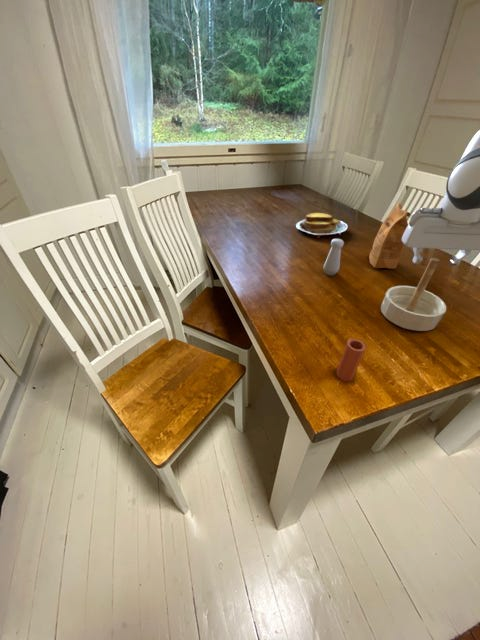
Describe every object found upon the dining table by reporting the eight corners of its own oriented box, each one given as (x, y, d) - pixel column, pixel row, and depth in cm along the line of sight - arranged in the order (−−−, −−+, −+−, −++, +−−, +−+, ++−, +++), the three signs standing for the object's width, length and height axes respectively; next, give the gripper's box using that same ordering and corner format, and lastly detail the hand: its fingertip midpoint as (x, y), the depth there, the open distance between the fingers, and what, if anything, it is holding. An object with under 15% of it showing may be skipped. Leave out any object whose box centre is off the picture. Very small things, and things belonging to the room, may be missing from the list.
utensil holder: (355, 373, 65) (367, 343, 59) (350, 384, 63) (362, 353, 56) (339, 366, 67) (350, 336, 61) (334, 376, 64) (344, 346, 58)
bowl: (439, 312, 85) (448, 296, 81) (433, 340, 75) (443, 323, 71) (386, 296, 91) (392, 280, 88) (374, 319, 81) (380, 303, 78)
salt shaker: (339, 276, 101) (348, 243, 93) (324, 276, 101) (331, 243, 93) (335, 269, 106) (344, 236, 98) (320, 268, 106) (328, 236, 98)
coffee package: (391, 257, 114) (412, 202, 100) (397, 272, 105) (422, 213, 91) (366, 255, 116) (383, 201, 102) (370, 269, 106) (390, 211, 92)
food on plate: (325, 244, 124) (328, 230, 120) (285, 228, 139) (286, 215, 135) (356, 231, 137) (359, 217, 133) (316, 218, 152) (318, 206, 148)
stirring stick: (412, 313, 83) (440, 259, 71) (411, 316, 81) (439, 261, 70) (404, 311, 84) (431, 257, 72) (403, 314, 82) (430, 259, 71)
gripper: (420, 211, 61) (398, 267, 70) (517, 214, 60) (482, 270, 69) (409, 203, 66) (389, 256, 75) (498, 206, 65) (468, 259, 73)
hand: (434, 263), depth 72 cm, fingers open, 8 cm apart
